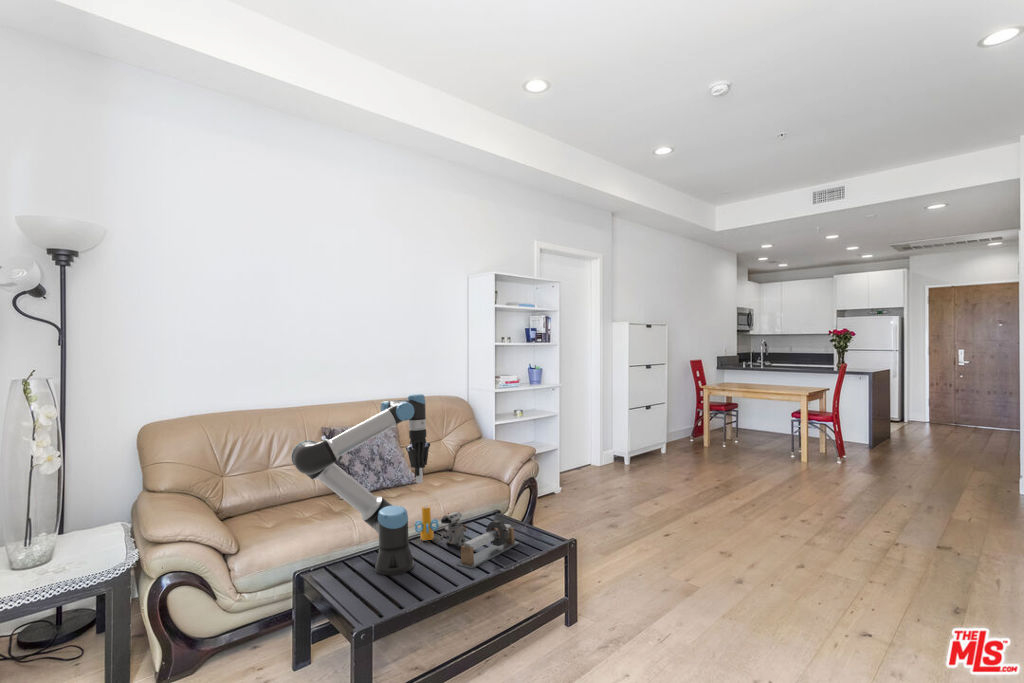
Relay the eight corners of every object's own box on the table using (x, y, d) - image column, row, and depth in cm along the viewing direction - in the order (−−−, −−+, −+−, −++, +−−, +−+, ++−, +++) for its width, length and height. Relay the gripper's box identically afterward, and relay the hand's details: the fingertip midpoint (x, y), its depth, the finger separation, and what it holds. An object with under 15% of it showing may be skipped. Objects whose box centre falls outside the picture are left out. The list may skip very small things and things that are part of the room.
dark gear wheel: (505, 547, 220) (504, 523, 220) (486, 543, 225) (485, 520, 226) (508, 545, 221) (507, 522, 222) (490, 542, 227) (489, 519, 228)
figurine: (436, 549, 227) (434, 515, 228) (455, 542, 235) (454, 508, 236) (449, 553, 221) (448, 518, 221) (469, 546, 229) (467, 511, 230)
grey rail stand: (472, 568, 203) (471, 546, 204) (456, 564, 208) (456, 543, 208) (518, 543, 229) (517, 524, 230) (504, 540, 234) (503, 521, 234)
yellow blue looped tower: (409, 543, 237) (408, 509, 238) (420, 535, 247) (419, 503, 248) (434, 544, 233) (432, 510, 234) (443, 536, 243) (442, 504, 244)
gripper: (412, 431, 222) (414, 486, 221) (434, 427, 232) (436, 480, 231) (400, 430, 226) (402, 485, 225) (422, 427, 237) (424, 478, 235)
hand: (419, 482), depth 228 cm, fingers closed
